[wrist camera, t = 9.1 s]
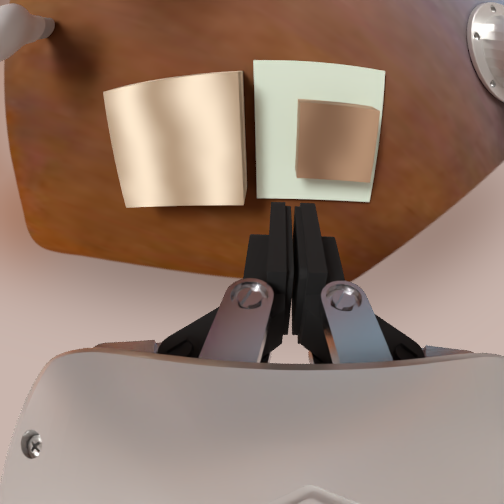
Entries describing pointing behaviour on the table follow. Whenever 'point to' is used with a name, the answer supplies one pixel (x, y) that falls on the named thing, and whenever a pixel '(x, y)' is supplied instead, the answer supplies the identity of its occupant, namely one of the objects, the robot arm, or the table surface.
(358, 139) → the walnut block
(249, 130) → the table surface
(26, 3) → the table surface
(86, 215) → the table surface
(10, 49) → the lightbulb
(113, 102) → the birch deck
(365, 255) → the table surface
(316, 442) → the robot arm
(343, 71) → the sage mat
